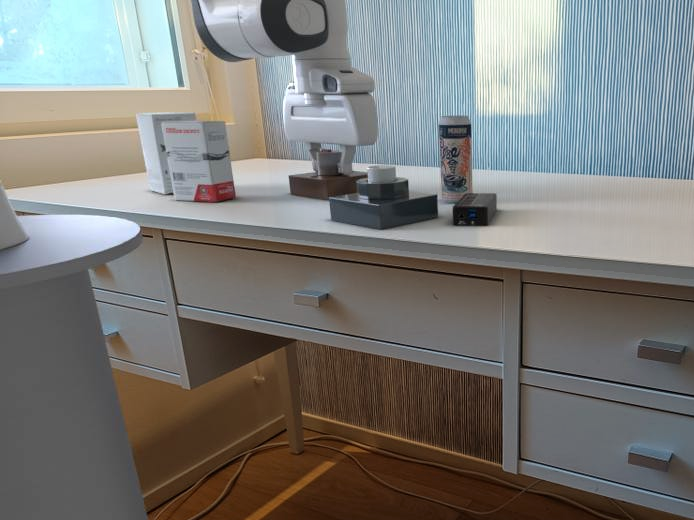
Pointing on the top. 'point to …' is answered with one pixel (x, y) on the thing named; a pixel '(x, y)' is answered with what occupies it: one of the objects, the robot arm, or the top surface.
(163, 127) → the ink box
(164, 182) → the white packaging box
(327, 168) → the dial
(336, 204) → the push button base
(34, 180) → the top surface
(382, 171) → the white short cylinder
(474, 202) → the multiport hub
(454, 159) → the coffee can
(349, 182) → the brown rectangular block
